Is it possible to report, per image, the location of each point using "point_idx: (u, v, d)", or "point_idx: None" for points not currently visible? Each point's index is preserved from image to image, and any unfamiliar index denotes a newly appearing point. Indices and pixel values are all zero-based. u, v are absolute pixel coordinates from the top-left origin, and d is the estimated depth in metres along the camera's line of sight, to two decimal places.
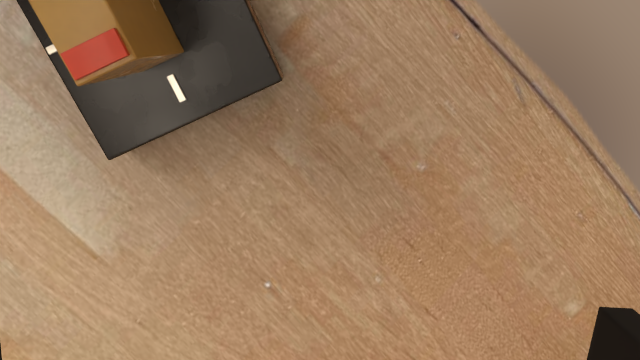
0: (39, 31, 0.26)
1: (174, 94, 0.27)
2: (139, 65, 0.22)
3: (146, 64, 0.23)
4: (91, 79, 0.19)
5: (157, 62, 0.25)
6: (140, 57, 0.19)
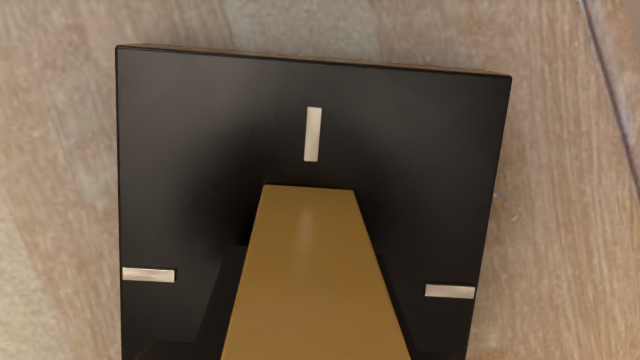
0: (127, 238, 0.14)
1: None
2: None
3: None
4: None
5: None
6: None
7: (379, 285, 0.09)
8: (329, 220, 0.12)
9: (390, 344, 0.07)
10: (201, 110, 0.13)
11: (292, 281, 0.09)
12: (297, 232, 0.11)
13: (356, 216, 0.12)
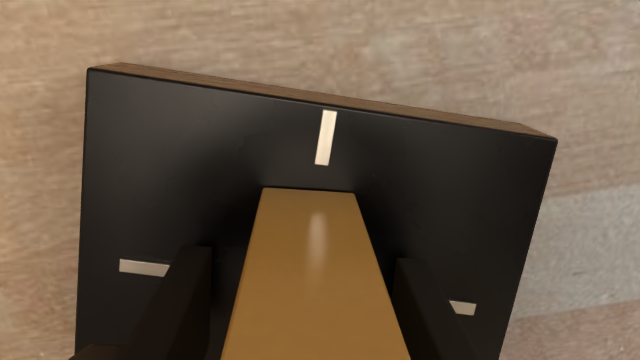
0: (366, 119, 0.13)
1: (139, 255, 0.14)
2: None
3: None
4: None
5: None
6: None
7: (381, 293, 0.08)
8: (330, 225, 0.11)
9: (393, 356, 0.07)
10: (486, 210, 0.14)
11: (291, 288, 0.08)
12: (297, 237, 0.10)
13: (357, 220, 0.12)
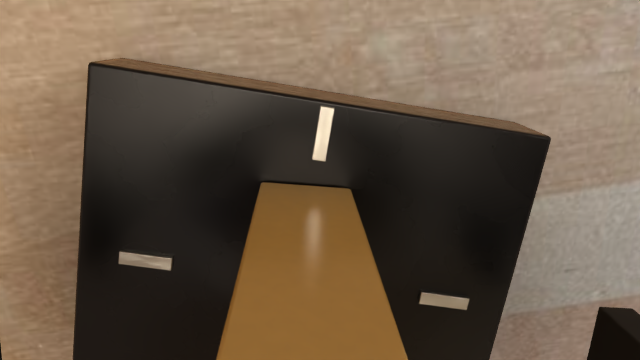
0: (363, 116, 0.14)
1: (138, 248, 0.14)
2: None
3: None
4: None
5: None
6: None
7: (376, 283, 0.09)
8: (327, 218, 0.12)
9: (386, 342, 0.07)
10: (479, 206, 0.14)
11: (288, 278, 0.09)
12: (295, 230, 0.11)
13: (353, 214, 0.12)
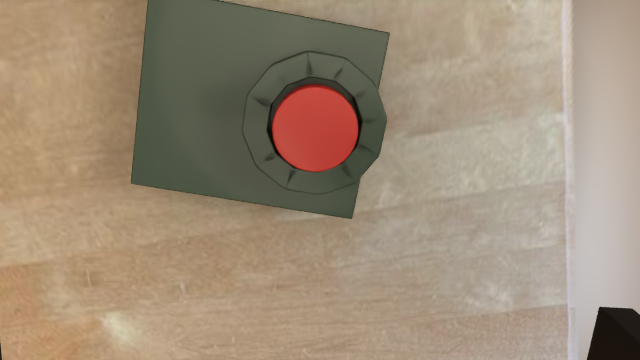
0: None
1: None
2: None
3: None
4: None
5: None
6: None
7: None
8: None
9: None
10: None
11: None
12: None
13: None
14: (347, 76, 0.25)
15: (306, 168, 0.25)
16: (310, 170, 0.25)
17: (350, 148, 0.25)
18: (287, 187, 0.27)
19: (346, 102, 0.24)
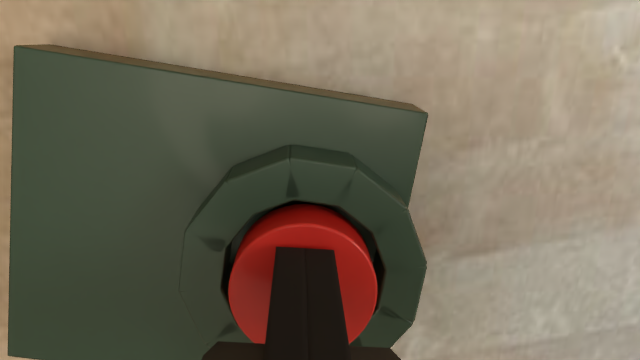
0: None
1: None
2: None
3: None
4: None
5: None
6: None
7: None
8: None
9: None
10: None
11: None
12: None
13: None
14: (359, 198, 0.15)
15: None
16: None
17: (364, 322, 0.14)
18: None
19: (357, 248, 0.14)
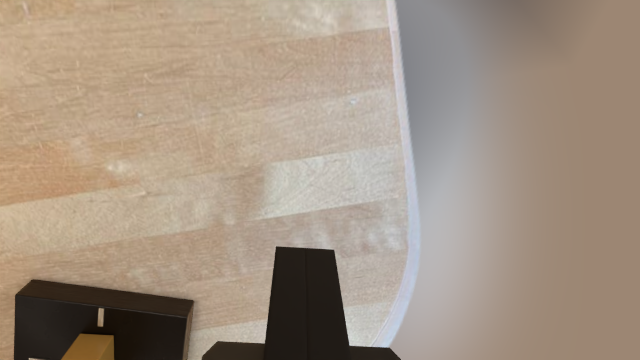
0: (115, 310, 0.38)
1: (36, 356, 0.39)
2: None
3: None
4: None
5: None
6: None
7: None
8: (89, 355, 0.36)
9: None
10: (164, 340, 0.39)
11: None
12: None
13: (100, 352, 0.36)
14: None
15: None
16: None
17: None
18: None
19: None
